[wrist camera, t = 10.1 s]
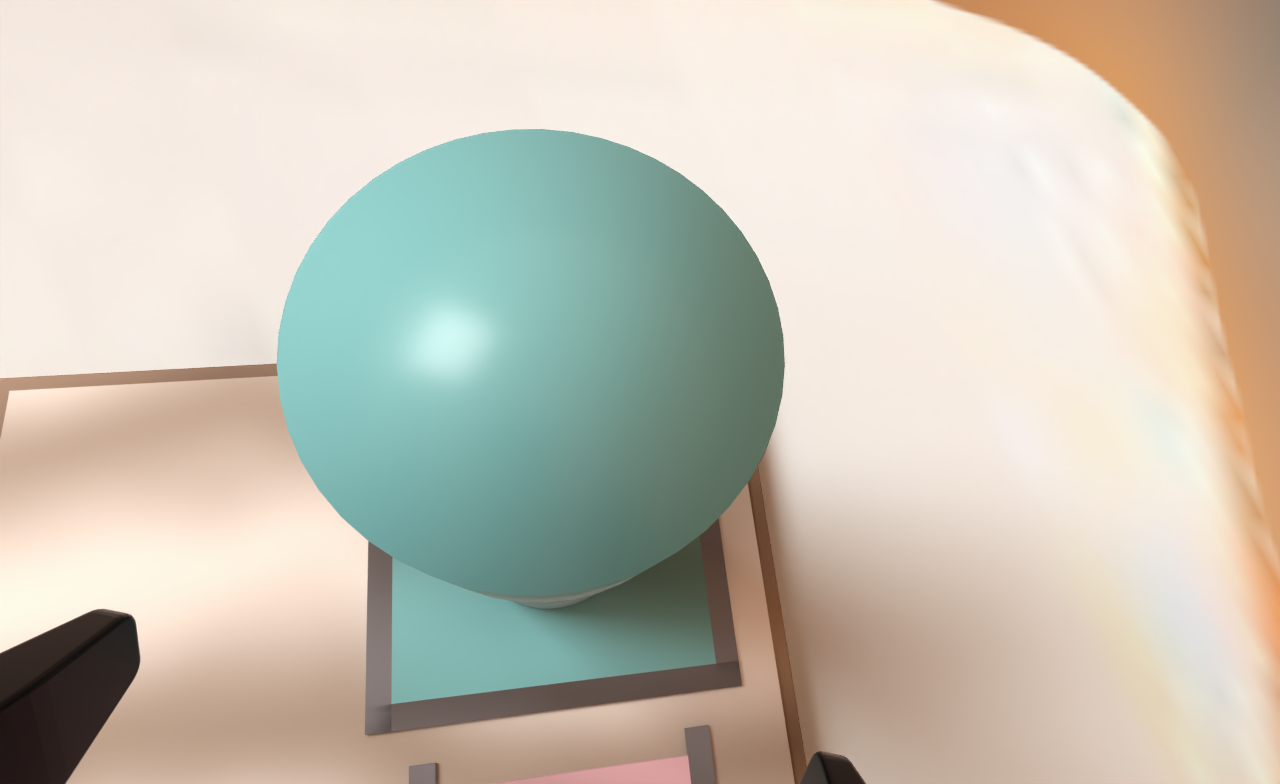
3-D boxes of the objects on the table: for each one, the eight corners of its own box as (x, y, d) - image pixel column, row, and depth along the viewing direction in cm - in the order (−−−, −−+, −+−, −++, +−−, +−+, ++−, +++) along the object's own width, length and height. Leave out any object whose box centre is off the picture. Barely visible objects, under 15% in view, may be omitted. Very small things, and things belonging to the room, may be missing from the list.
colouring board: (861, 1174, 15) (958, 1350, 12) (-174, 1428, 12) (-484, 1769, 9) (730, 349, 21) (767, 292, 18) (20, 388, 18) (-113, 330, 15)
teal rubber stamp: (665, 566, 18) (872, 461, 6) (500, 645, 17) (376, 698, 5) (595, 413, 19) (658, 81, 7) (436, 478, 18) (215, 208, 6)
